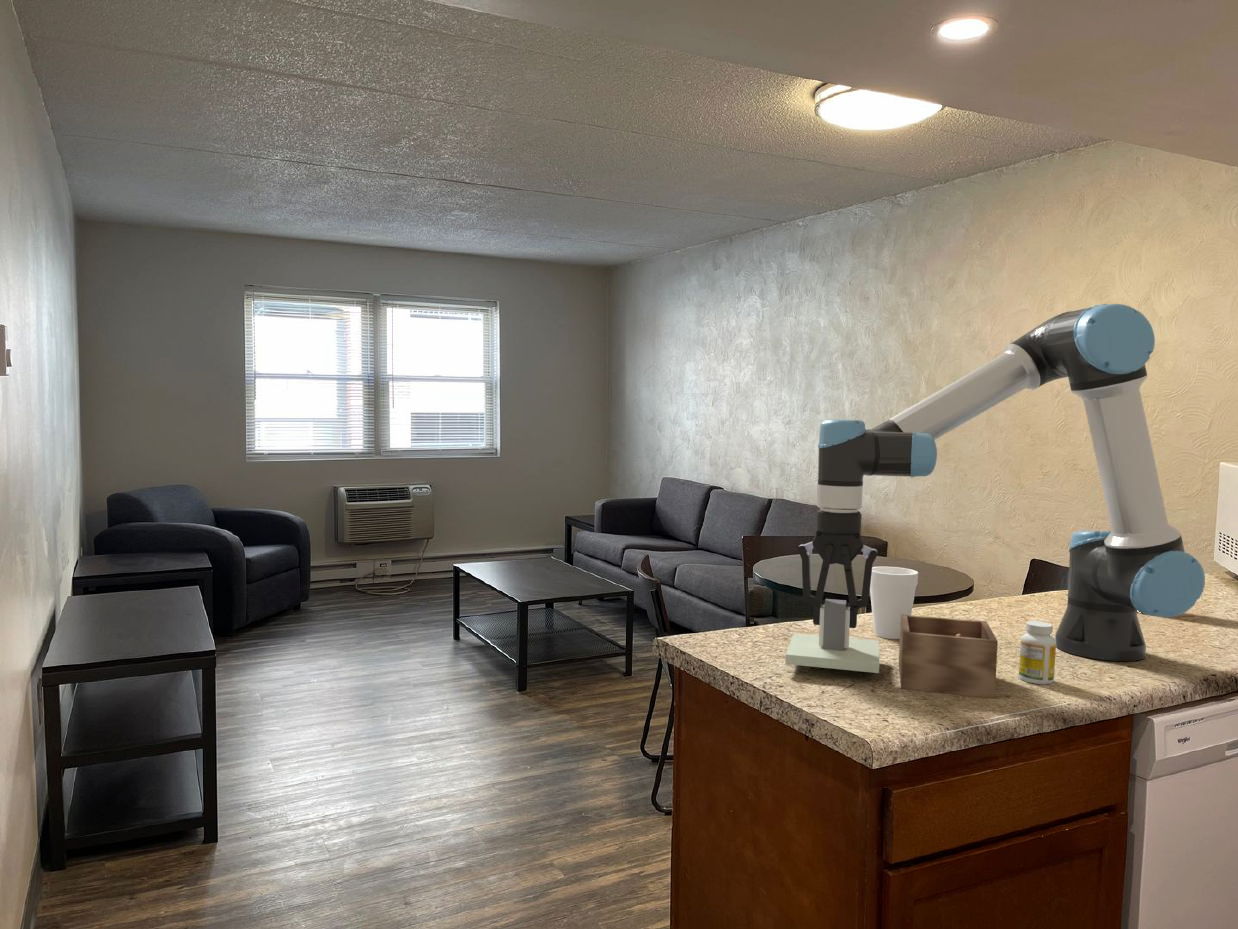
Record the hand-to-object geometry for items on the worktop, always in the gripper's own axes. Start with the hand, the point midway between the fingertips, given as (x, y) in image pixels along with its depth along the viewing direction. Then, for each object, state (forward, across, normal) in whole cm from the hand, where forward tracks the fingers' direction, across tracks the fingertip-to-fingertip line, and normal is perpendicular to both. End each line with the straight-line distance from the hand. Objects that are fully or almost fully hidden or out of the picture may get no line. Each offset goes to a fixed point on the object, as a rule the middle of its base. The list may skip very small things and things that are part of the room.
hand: (834, 644), depth 152 cm
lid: (+2, 0, 0) cm, 2 cm away
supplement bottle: (+4, -33, -5) cm, 34 cm away
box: (+4, -18, +1) cm, 18 cm away
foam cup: (+4, -10, -28) cm, 30 cm away
